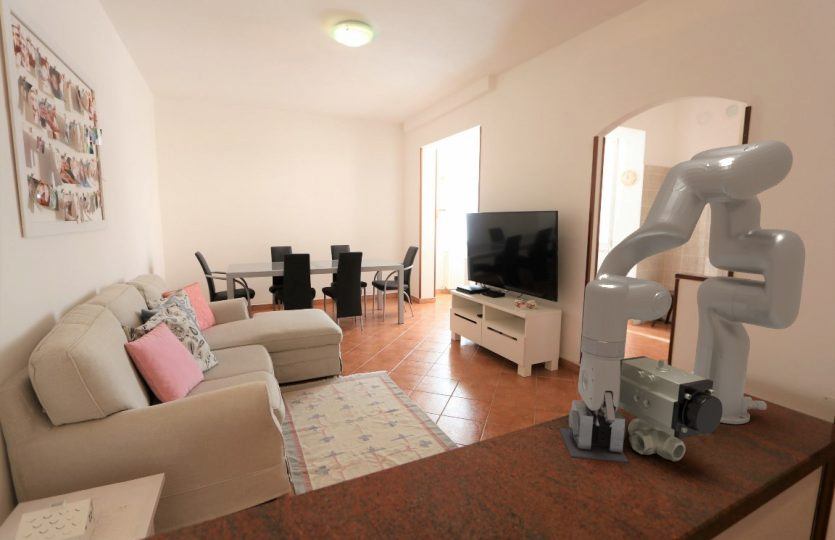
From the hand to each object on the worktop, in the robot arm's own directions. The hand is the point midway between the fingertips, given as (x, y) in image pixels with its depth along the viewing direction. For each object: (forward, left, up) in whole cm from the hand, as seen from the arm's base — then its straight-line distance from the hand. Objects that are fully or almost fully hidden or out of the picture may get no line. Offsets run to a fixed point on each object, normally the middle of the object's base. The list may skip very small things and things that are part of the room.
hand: (595, 435), depth 77 cm
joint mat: (+1, 0, -2) cm, 2 cm away
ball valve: (-10, 0, -2) cm, 11 cm away
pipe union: (0, 0, -1) cm, 1 cm away
